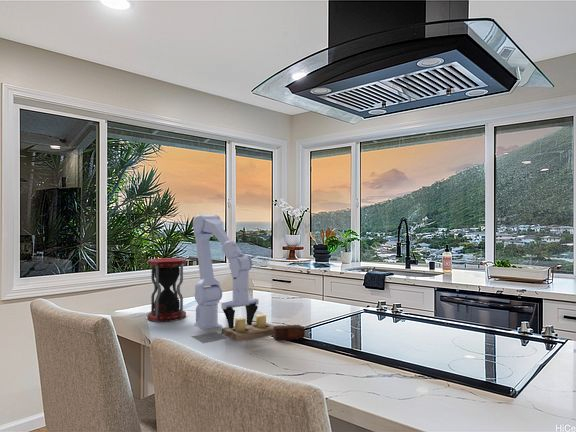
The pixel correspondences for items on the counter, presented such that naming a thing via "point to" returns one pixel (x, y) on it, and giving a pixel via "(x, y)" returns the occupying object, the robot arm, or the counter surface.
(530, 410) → the counter surface
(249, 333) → the socket board
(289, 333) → the brick
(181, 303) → the hourglass
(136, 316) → the counter surface
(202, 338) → the mat
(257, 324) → the tan domed cylinder
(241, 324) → the yellow peg
